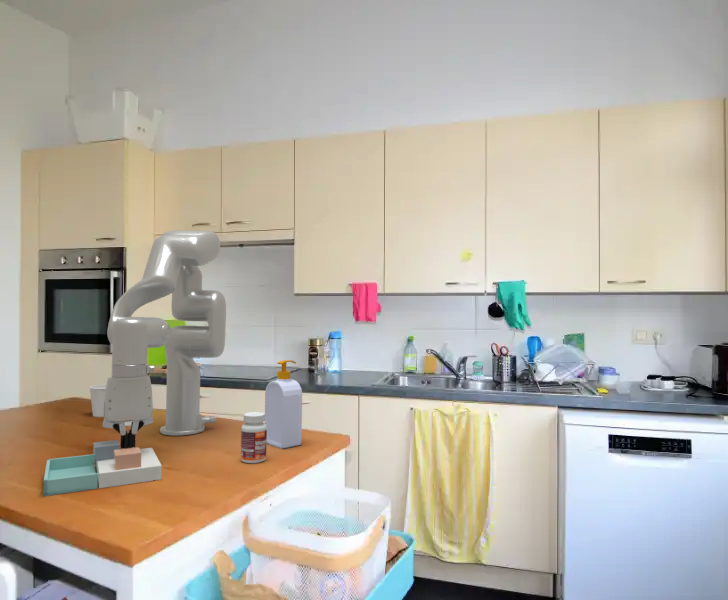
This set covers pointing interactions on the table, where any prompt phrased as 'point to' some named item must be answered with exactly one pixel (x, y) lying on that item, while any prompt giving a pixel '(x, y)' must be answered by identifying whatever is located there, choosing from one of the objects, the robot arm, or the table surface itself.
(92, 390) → the dixie cup
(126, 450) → the salmon pink box
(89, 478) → the tray
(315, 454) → the table surface
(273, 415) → the soap bottle
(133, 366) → the robot arm
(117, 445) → the grey block
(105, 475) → the white flat block
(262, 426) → the pill bottle
